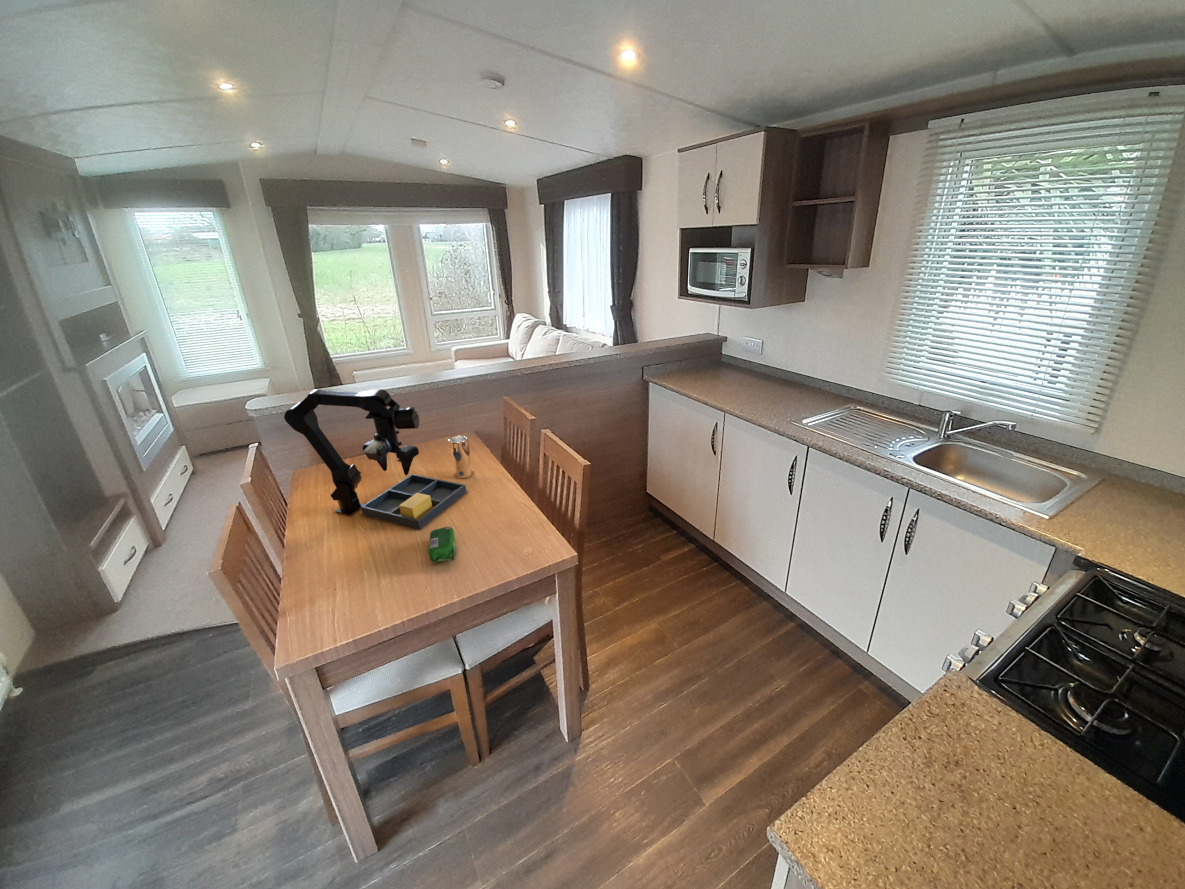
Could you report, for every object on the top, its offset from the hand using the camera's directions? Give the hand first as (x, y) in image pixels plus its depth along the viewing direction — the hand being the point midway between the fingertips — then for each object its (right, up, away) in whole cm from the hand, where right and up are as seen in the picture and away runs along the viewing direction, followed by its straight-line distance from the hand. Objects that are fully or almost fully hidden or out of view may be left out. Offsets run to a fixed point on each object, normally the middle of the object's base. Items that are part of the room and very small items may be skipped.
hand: (395, 472), depth 158 cm
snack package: (+22, -22, -19) cm, 36 cm away
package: (+7, -13, 0) cm, 15 cm away
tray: (+4, -11, +7) cm, 14 cm away
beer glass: (+16, -2, +25) cm, 30 cm away
